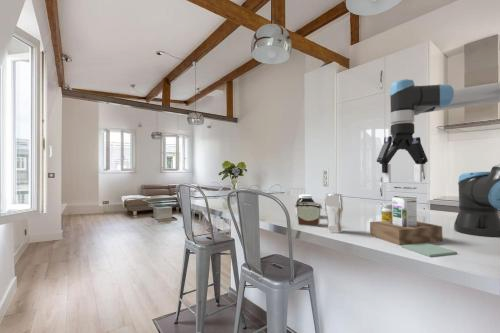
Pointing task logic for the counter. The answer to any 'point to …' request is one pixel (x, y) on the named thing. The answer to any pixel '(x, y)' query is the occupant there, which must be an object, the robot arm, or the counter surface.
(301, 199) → the spread jar
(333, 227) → the beer glass
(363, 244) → the counter surface
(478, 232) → the robot arm
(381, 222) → the walnut block
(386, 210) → the supplement bottle
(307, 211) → the food container
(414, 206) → the syrup box
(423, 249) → the sage rubber mat
